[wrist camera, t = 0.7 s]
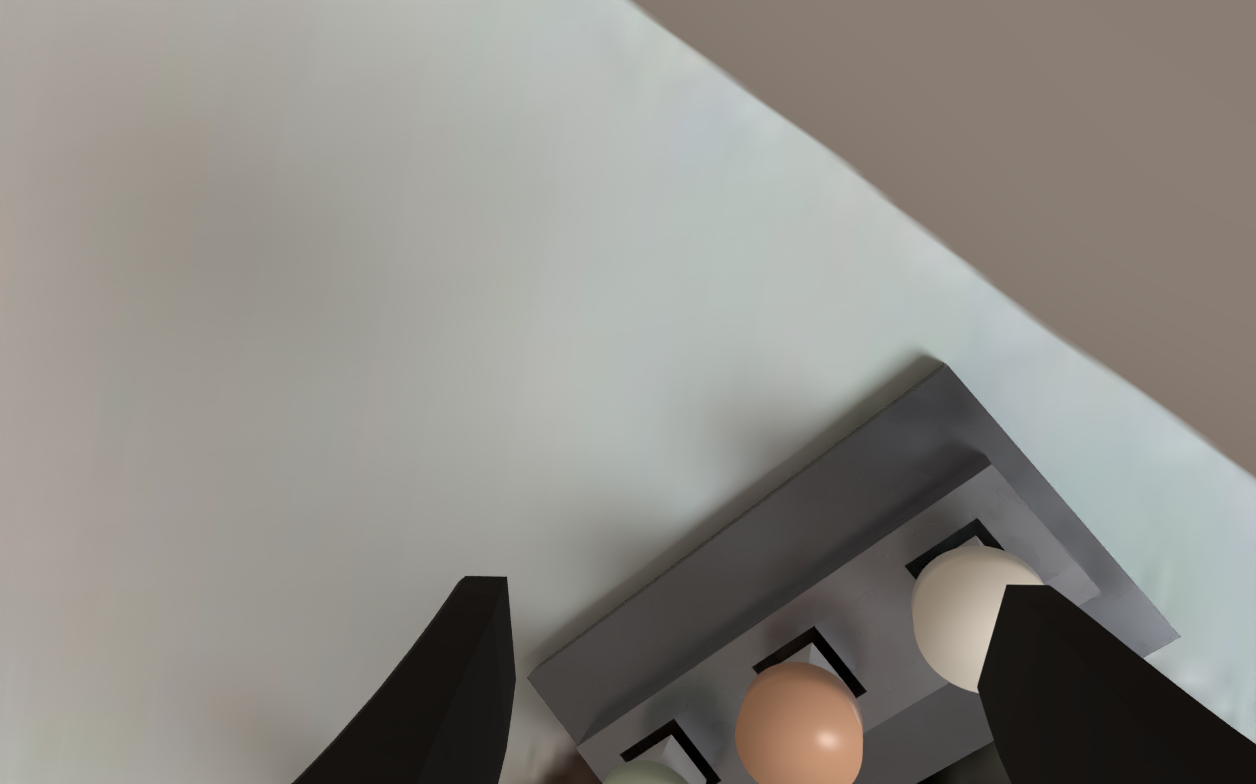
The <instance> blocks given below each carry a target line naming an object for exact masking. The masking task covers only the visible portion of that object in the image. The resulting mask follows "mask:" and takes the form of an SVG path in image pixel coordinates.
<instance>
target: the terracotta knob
mask: <svg viewBox="0 0 1256 784" xmlns="http://www.w3.org/2000/svg"><path fill="white" fill-rule="evenodd" d="M735 741H736V747H737V751H738V754H739V757H740V759H741V761H742V763H743V765H744V767H745V768H746V770H747V771H748V773H749V774H750V775H751V776H752V777H753V778H754V780H755V781H757V782H758V783H759V784H852V783H853V782H854V780H855V779H856V777H857V775H858V773H859V770H860V768H861V763H862V754H863V717H862V713H861V709H860V706H859V704H858V701H857V700H856V698H855V696H854V694H853V693H852V691H851V690H850V689H849V688H848V686H847V685H846V684H845V683H844V681H843V680H842V679H841V678H840V676H839V675H838V674H837V673H836V671H835V670H834V669H833V668H832V666H831V665H830V664H829V663H828V661H827V660H826V659H825V658H824V656H823V655H822V654H821V653H820V651H819V650H818V649H817V648H816V646H815V645H814V644H813V643H810V644H809V645H807V646H806V647H804V648H803V649H801V650H800V651H798V652H797V653H795V654H794V655H792V656H791V657H789V658H788V659H786V660H784V661H783V662H781V663H780V664H776V665H774V666H771V667H769V668H767V669H765V670H764V671H762V672H761V673H760V674H758V675H757V677H756V678H755V679H754V680H753V681H752V682H751V684H750V685H749V687H748V689H747V691H746V694H745V697H744V700H743V703H742V707H741V710H740V713H739V716H738V719H737V722H736V728H735Z"/></svg>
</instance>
